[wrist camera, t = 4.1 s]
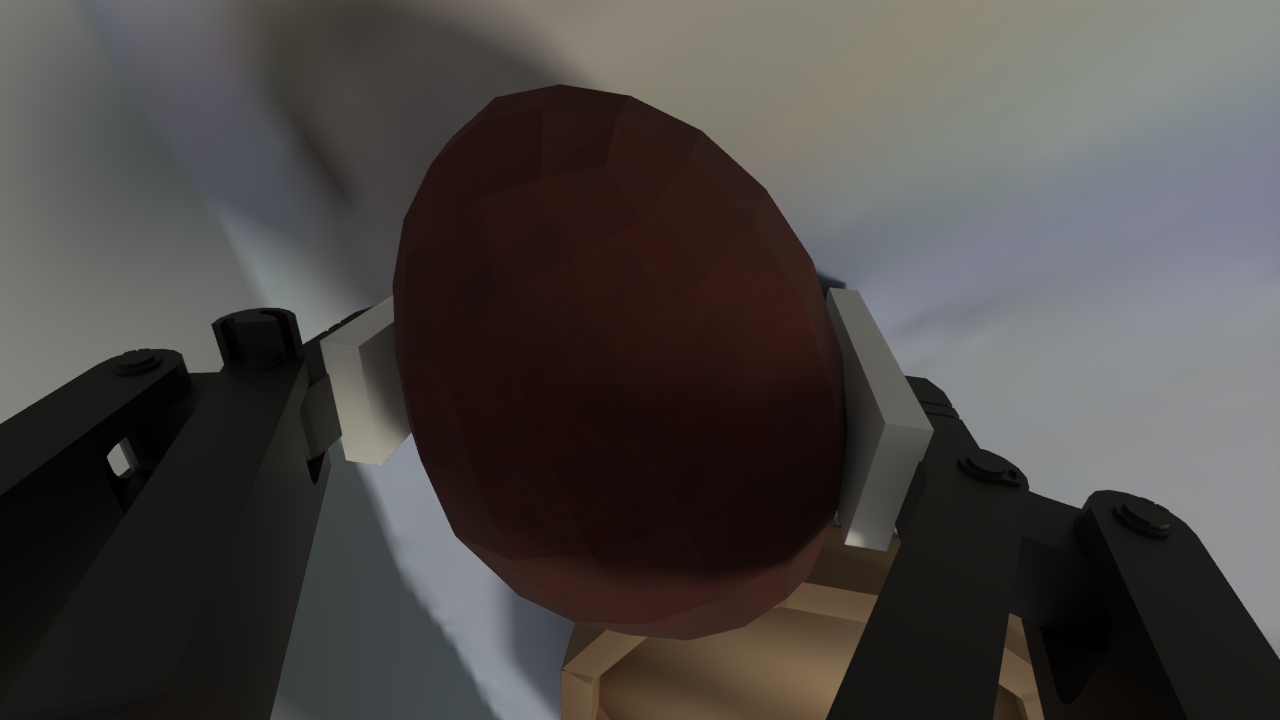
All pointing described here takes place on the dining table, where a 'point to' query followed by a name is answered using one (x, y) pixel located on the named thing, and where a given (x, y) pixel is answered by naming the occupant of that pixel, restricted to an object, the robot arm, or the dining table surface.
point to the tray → (761, 656)
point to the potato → (618, 366)
